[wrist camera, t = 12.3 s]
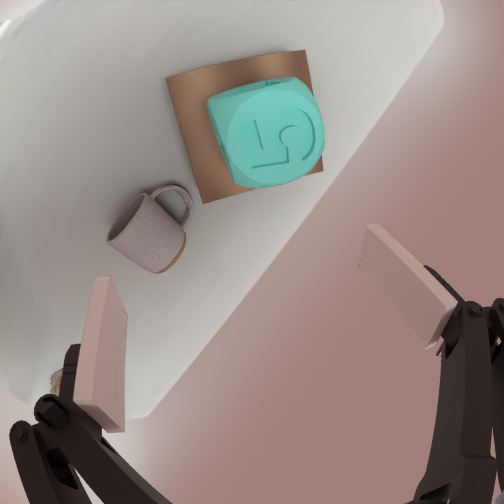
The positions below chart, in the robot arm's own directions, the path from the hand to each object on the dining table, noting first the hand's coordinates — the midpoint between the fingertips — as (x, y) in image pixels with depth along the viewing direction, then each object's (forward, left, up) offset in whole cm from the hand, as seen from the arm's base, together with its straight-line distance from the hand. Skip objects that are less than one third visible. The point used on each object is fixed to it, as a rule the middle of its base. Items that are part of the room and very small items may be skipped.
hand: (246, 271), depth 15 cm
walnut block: (+5, +4, -24) cm, 25 cm away
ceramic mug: (-7, -7, -24) cm, 26 cm away
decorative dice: (+5, +4, -18) cm, 19 cm away
